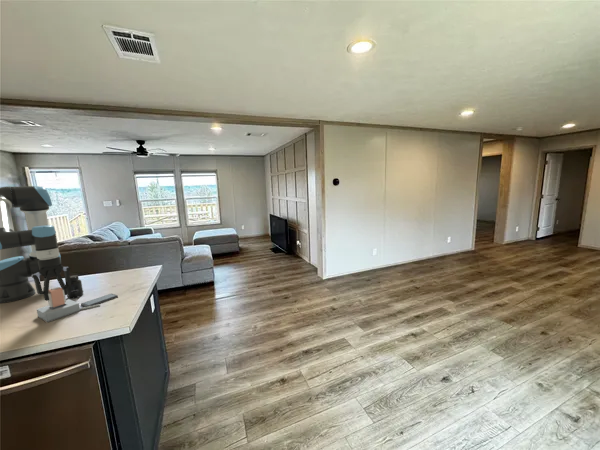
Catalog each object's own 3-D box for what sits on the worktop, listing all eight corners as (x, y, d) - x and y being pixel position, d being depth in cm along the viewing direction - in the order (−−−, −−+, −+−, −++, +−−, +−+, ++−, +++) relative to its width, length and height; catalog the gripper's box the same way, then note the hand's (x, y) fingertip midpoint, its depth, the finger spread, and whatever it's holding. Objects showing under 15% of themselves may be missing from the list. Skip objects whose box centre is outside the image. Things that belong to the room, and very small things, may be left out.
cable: (79, 310, 122) (78, 308, 122) (79, 309, 123) (79, 308, 123) (100, 306, 126) (100, 304, 126) (100, 305, 127) (100, 303, 127)
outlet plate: (38, 316, 117) (36, 309, 117) (70, 306, 128) (68, 299, 127) (47, 322, 112) (45, 314, 111) (80, 310, 122) (78, 303, 121)
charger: (50, 305, 118) (47, 288, 117) (61, 302, 122) (58, 285, 120) (53, 307, 116) (50, 290, 115) (64, 303, 120) (61, 287, 119)
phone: (81, 305, 128) (80, 303, 128) (111, 295, 140) (111, 293, 140) (87, 308, 125) (86, 306, 125) (117, 297, 137) (117, 295, 137)
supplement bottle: (73, 299, 136) (70, 278, 135) (64, 298, 138) (60, 278, 136) (86, 294, 143) (83, 274, 141) (77, 293, 145) (74, 274, 143)
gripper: (25, 263, 106) (35, 313, 110) (75, 254, 121) (82, 298, 124) (19, 261, 110) (29, 310, 113) (68, 252, 125) (76, 295, 128)
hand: (57, 303), depth 119 cm, fingers closed on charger, 4 cm apart
